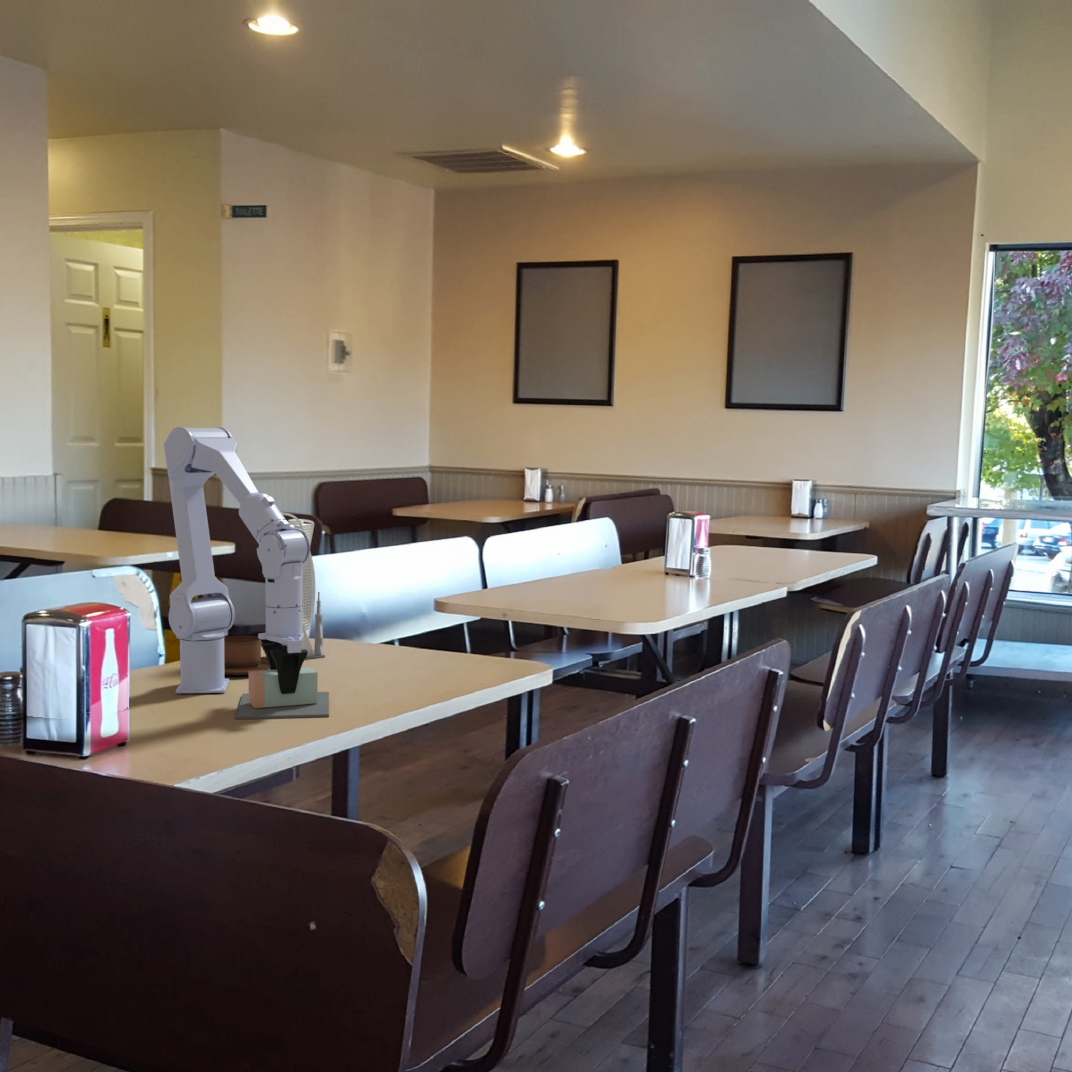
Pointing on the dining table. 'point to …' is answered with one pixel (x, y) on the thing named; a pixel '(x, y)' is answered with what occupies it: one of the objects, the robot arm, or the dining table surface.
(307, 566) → the skyscraper
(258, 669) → the cup and saucer
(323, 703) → the rubber mat
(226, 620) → the robot arm
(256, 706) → the green and orange block
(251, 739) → the dining table surface
